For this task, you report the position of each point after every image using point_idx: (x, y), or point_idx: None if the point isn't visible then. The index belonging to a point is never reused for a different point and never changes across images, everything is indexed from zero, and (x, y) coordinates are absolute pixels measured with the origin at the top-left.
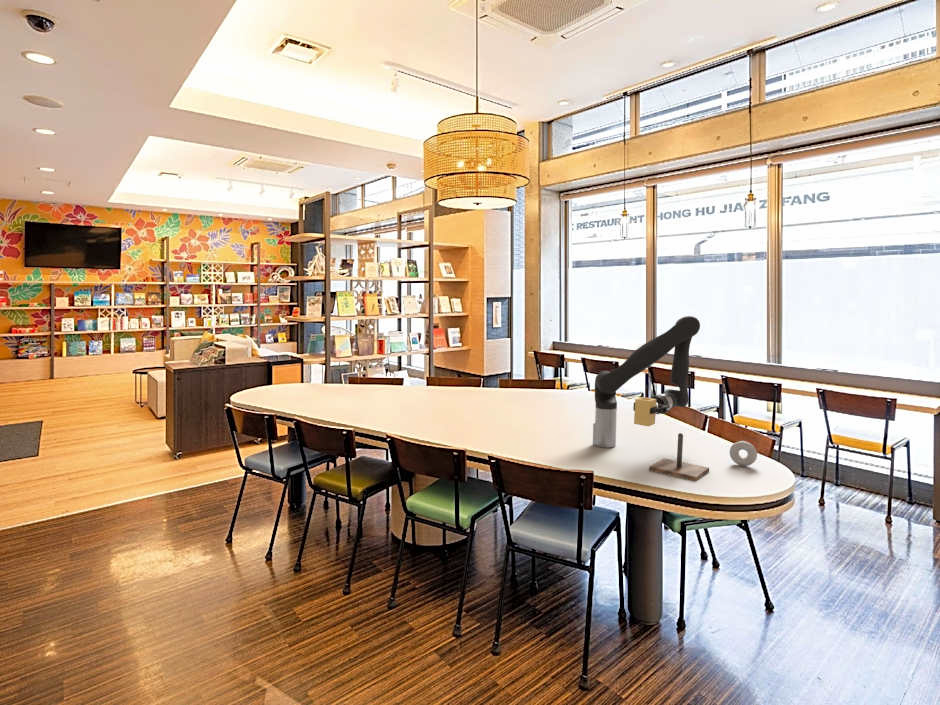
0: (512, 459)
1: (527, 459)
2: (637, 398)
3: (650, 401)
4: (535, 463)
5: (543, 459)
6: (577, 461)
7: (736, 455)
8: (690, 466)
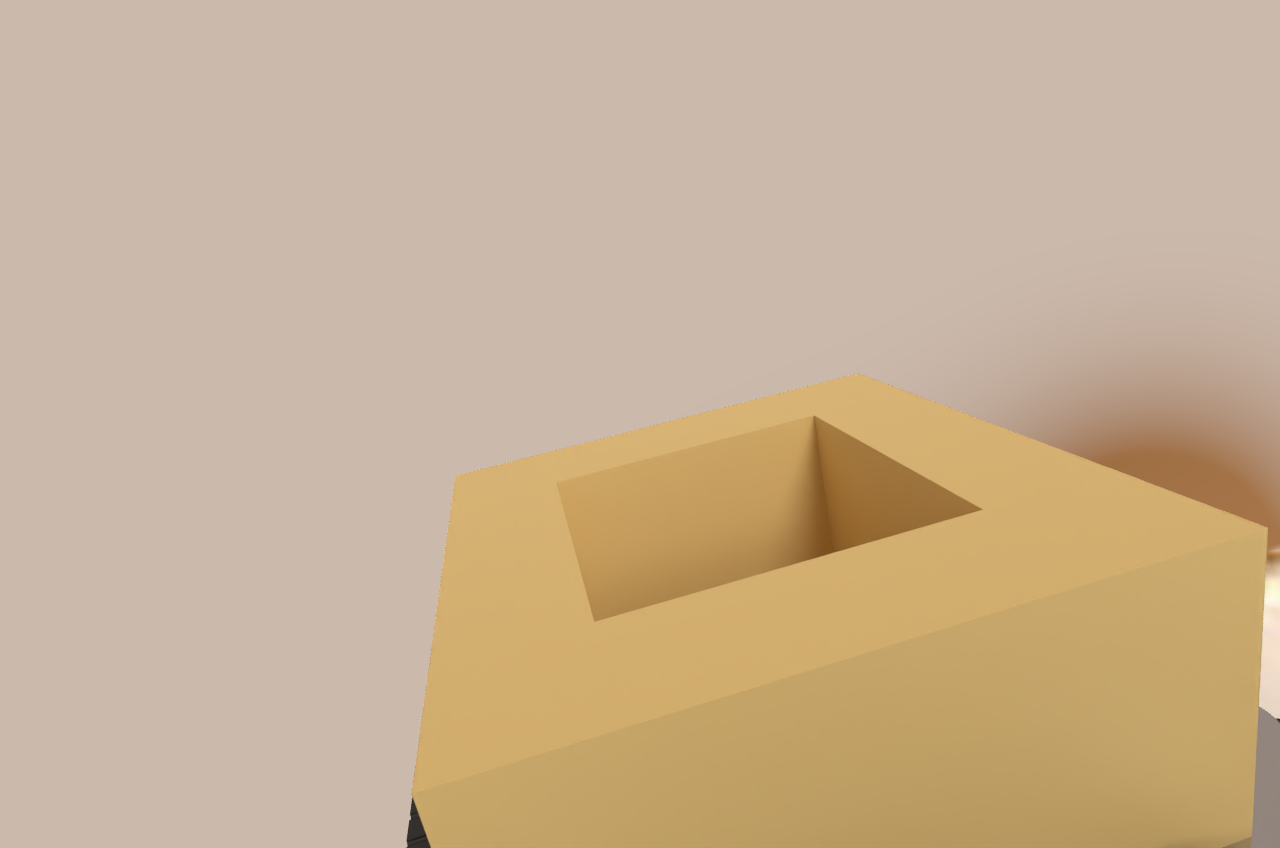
0: (1266, 557)
1: (1270, 605)
2: (911, 399)
3: (458, 502)
4: None
5: (1276, 668)
6: None
7: None
8: None
